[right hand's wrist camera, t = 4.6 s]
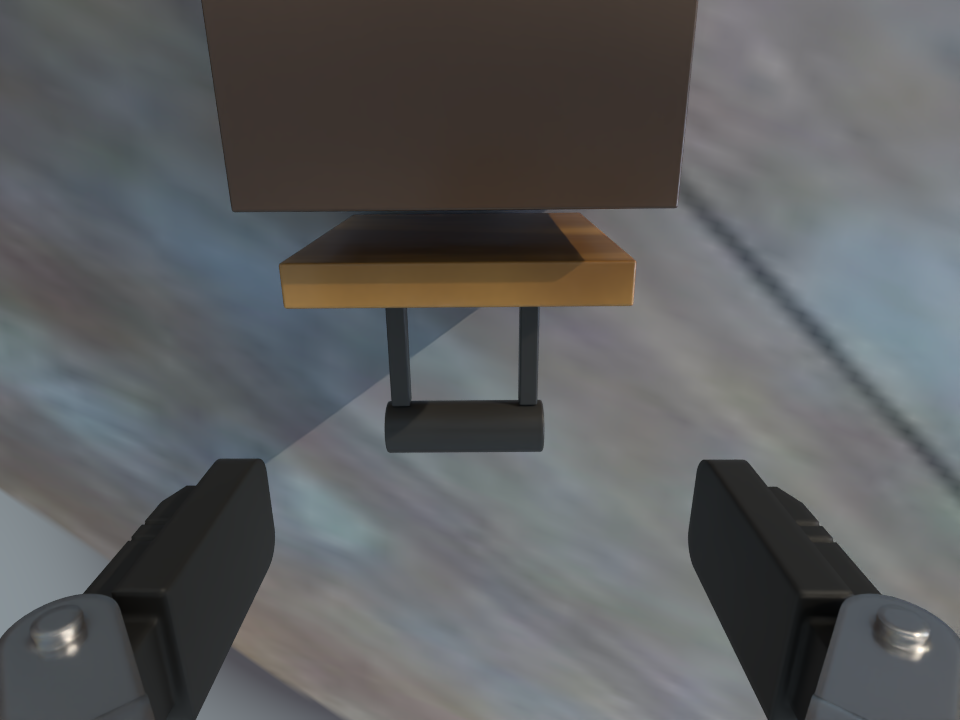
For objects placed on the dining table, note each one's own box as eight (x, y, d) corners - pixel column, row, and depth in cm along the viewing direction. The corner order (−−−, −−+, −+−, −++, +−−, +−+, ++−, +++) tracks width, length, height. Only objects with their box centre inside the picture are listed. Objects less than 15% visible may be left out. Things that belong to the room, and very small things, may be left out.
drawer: (572, 379, 27) (618, 504, 18) (365, 381, 27) (307, 506, 18) (610, -443, 18) (738, -1014, 9) (300, -438, 18) (121, -1001, 9)
